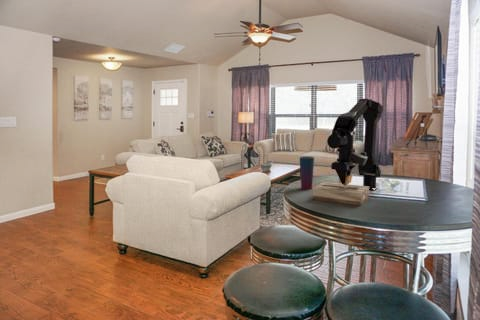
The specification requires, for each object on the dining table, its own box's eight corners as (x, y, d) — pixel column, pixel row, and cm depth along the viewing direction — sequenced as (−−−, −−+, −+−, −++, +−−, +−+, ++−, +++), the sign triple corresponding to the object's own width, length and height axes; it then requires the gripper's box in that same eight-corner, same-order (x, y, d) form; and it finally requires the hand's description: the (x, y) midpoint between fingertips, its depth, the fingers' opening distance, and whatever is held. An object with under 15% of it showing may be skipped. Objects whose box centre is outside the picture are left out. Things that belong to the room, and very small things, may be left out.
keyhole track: (323, 192, 163) (323, 181, 163) (369, 198, 153) (369, 186, 152) (312, 199, 153) (312, 187, 152) (361, 205, 142) (361, 193, 141)
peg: (341, 193, 154) (341, 174, 153) (350, 194, 152) (351, 174, 151) (338, 195, 151) (339, 175, 150) (348, 196, 149) (348, 176, 147)
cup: (313, 190, 168) (314, 158, 166) (299, 189, 170) (299, 158, 168) (313, 187, 175) (314, 156, 173) (299, 186, 176) (299, 156, 174)
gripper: (359, 149, 136) (358, 190, 139) (371, 144, 152) (370, 181, 154) (331, 148, 142) (330, 187, 145) (345, 143, 158) (344, 178, 160)
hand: (345, 183), depth 151 cm, fingers closed on peg, 4 cm apart
